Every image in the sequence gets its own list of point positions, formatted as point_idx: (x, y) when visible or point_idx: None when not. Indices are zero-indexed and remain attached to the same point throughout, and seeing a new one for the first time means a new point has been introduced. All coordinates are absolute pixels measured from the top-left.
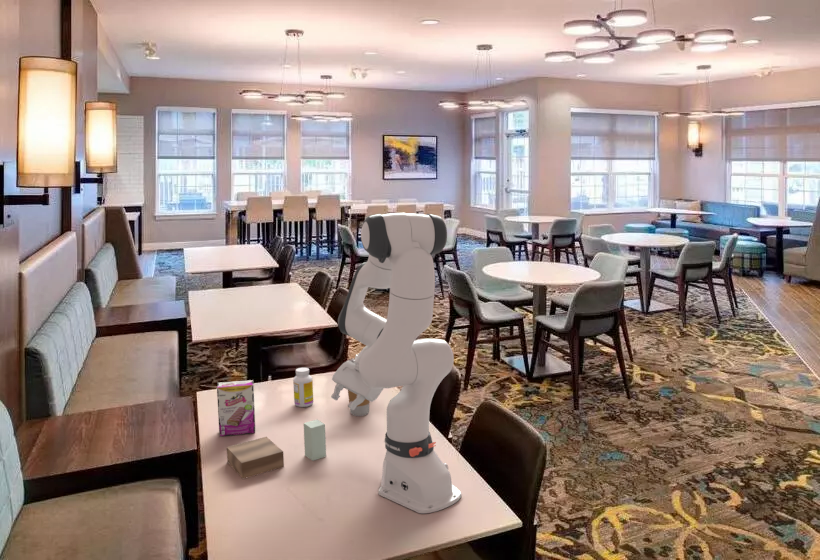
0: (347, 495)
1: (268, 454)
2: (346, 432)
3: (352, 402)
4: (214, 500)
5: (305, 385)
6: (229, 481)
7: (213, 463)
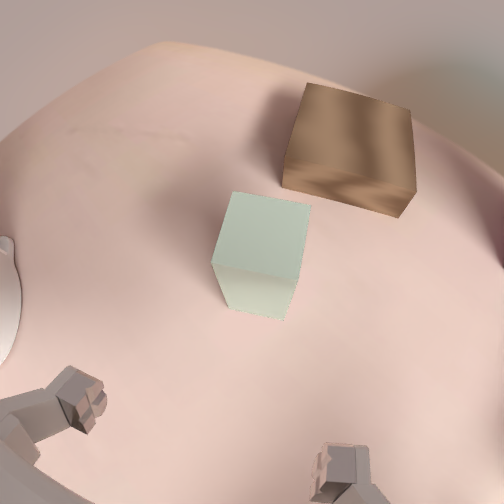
0: (59, 199)
1: (300, 127)
2: None
3: (54, 391)
4: (270, 65)
5: None
6: None
7: None
